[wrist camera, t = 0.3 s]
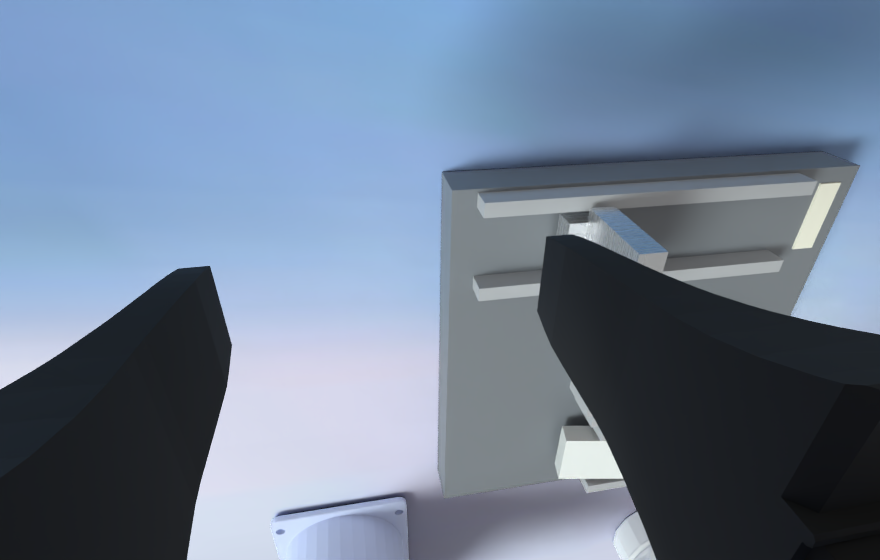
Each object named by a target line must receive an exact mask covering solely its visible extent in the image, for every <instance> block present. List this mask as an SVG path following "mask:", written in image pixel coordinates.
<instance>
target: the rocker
mask: <svg viewBox="0 0 880 560" xmlns="http://www.w3.org/2000/svg"><path fill="white" fill-rule="evenodd" d="M555 467H556V471H557V475H558V479H623V477H622V474H621V472H620V470H619V468H618V466H617V463H616V461H615V459H614V457H613V455H612V452H611V450H610V448H609V446H608V444H607V442H606V440H604V441H600V439H599V437H598V436H597V434H596V432H595V430H594V429H593V427H592V428H591V426H562V429H561V434H560V439H559V444H558V449H557V454H556V459H555Z"/></svg>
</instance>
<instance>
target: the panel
mask: <svg viewBox="0 0 880 560" xmlns="http://www.w3.org/2000/svg"><path fill="white" fill-rule="evenodd" d="M859 167H860V165H857V164H855V163H852V162H849V161H847V160H844V159H841V158H839V157H836V156H833V155H831V154H828V153H826V152H823V151H818V152H800V153H781V154H763V155H745V156H727V157H708V158H690V159H672V160H654V161H635V162H617V163H599V164H581V165H562V166H544V167H526V168H508V169H490V170H471V171H453V172H442V205H441V275H440V345H439V416H438V473H439V478H440V482H441V487H442V491H443V496H444V499H446V498H452V497H458V496H464V495H470V494H477V493H483V492H489V491H495V490H501V489H507V488H513V487H520V486H526V485H532V484H538V483H544V482H550V481H556V480H563V479H558V475H557V471H556V467H555V459H556V454H557V449H558V444H559V439H560V434H561V429H562V426H591V428H592V427H593V429H594V430H595V432H596V434H597V436H598V437H599V439H600V441H604V440H606V439H605V438H604V436H603V434H602V432H601V430H600V428H599V426H598V425H597V423H596V421H595V419H594V418H593V416H592V414H591V413H590V411H589V409H588V408H587V406H586V404H585V403H584V401H583V399H582V398H581V396H580V394H579V393H578V391H577V389H576V388H575V386H574V384H573V383H572V381H571V379H570V378H569V376H568V374H567V373H566V371H565V369H564V367H563V366H562V364H561V362H560V361H559V359H558V357H557V355H556V354H555V352H554V350H553V348H552V347H551V345H550V342H549V340H548V338H547V335H546V333H545V331H544V328H543V325H542V323H541V320H540V318H539V315H538V312H537V307H538V299H539V291H540V283H541V275H542V267H543V259H544V251H545V243H546V236H556V235H557V229H558V222H559V215H560V213H570V212H584V211H590V208H600V207H614V206H615V207H616V208H617V209H618V210H620V211H621V212H622V213H623V214H624V215H625V216H627V217H628V218H629V219H630V220H631V221H633V222H634V223H635V224H636V225H637V226H638V227H640V228H641V229H642V230H643V231H644V232H646V233H647V234H648V235H649V236H650V237H651V238H653V239H654V240H655V241H656V242H657V243H659V244H660V245H661V246H662V247H663V248H664V249H666V250H667V251H668V256H667V259H666V263H665V266H664V270H663V274H665V275H667V276H670V277H672V278H675V279H677V280H680V281H682V282H684V283H687V284H689V285H692V286H694V287H697V288H700V289H702V290H705V291H708V292H711V293H713V294H716V295H720V296H723V297H726V298H729V299H732V300H735V301H738V302H741V303H744V304H747V305H751V306H754V307H758V308H761V309H765V310H768V311H772V312H776V313H780V314H784V315H788V316H790V315H791V312H792V310H793V308H794V306H795V304H796V302H797V300H798V297H799V295H800V293H801V291H802V289H803V287H804V285H805V283H806V280H807V278H808V276H809V274H810V272H811V270H812V268H813V265H814V263H815V261H816V259H817V257H818V255H819V253H820V250H821V248H822V246H823V244H824V242H825V240H826V238H827V235H828V233H829V231H830V229H831V227H832V225H833V223H834V220H835V218H836V216H837V214H838V212H839V210H840V208H841V205H842V203H843V201H844V199H845V197H846V195H847V193H848V190H849V188H850V186H851V184H852V182H853V180H854V178H855V175H856V173H857V171H858V169H859ZM580 481H581V483H582V485H583V487H584V489H585V491H586V493H591V492H597V491H603V490H609V489H615V488H621V487H627V486H626V483H625V481H624V479H580Z"/></svg>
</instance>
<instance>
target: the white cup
mask: <svg viewBox="0 0 880 560" xmlns="http://www.w3.org/2000/svg"><path fill="white" fill-rule="evenodd" d="M613 543H614V546H615V548H616V550H617V553H618V555H619V557H620V559H621V560H656V557H655V555H654V552H653V550H652V547H651V544H650V542H649V539H648V537H647V534H646V531H645V529H644V526H643V524H642V521H641V519H640V517H639V514H638V512H635V513H634V514H632V515H630V516H629V517H627V518H626V519H625V520H624V521H623V523H622V524H621V525H620V526H619V527H618V528H617V530H616V532H615V536H614V541H613Z"/></svg>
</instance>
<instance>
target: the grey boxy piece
mask: <svg viewBox="0 0 880 560" xmlns="http://www.w3.org/2000/svg"><path fill="white" fill-rule="evenodd" d="M568 234H573V235H576V236H579V237H582V238H585V239H587V240H590V241H592V242H594V243H597V244H599V245H601V246H603V247H605V248H608V249H610V250H612V251H614V252H616V253H618V254H621V255H623V256H625V257H627V258H629V259H631V260H633V261H636V262H638V263H640V264H642V265H644V266H647V267H649V268H651V269H653V270H656V271H658V272H660V273H663V270H664V266H665V263H666V259H667V256H668V251H667V250H666V249H664V248H663V247H662V246H661V245H660V244H659V243H657V242H656V241H655V240H654V239H653V238H651V237H650V236H649V235H648V234H647V233H646V232H644V231H643V230H642V229H641V228H640V227H638V226H637V225H636V224H635V223H634V222H633V221H631V220H630V219H629V218H628V217H627V216H625V215H624V214H623V213H622V212H621V211H620V210H618V209H617V208H616V207H615V206H614V207H600V208H590V211H584V212H570V213H560V215H559V222H558V229H557V235H568ZM557 235H556V236H557Z"/></svg>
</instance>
